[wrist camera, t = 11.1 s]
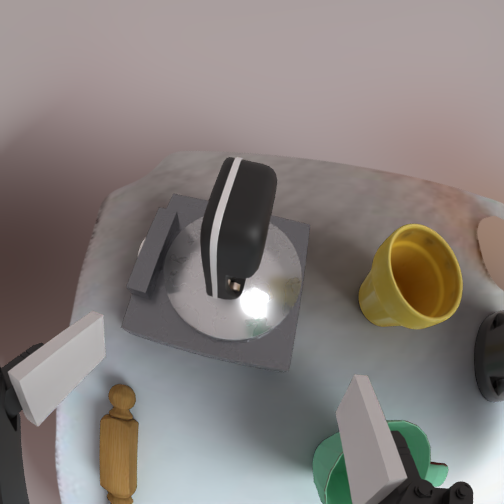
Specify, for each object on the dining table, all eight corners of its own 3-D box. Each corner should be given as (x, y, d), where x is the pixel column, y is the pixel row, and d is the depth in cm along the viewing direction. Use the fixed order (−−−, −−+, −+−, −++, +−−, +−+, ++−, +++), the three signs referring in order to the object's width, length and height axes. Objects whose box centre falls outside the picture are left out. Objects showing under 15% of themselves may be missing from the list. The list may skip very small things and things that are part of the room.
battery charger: (246, 308, 24) (268, 247, 14) (204, 298, 24) (195, 230, 14) (261, 241, 27) (286, 156, 17) (223, 232, 27) (229, 143, 17)
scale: (302, 238, 34) (315, 214, 29) (281, 372, 26) (294, 369, 22) (172, 208, 33) (167, 181, 29) (126, 332, 26) (109, 321, 22)
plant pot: (400, 356, 28) (456, 339, 19) (330, 319, 29) (374, 289, 21) (419, 286, 32) (466, 253, 24) (359, 249, 34) (397, 204, 25)
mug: (275, 484, 20) (302, 524, 11) (310, 404, 25) (354, 409, 16) (386, 497, 19) (438, 518, 10) (414, 426, 24) (473, 428, 15)
